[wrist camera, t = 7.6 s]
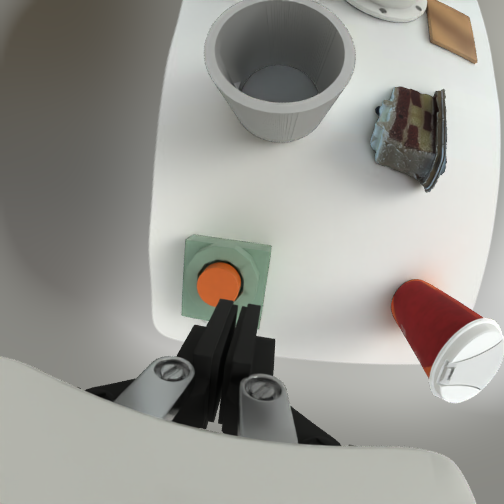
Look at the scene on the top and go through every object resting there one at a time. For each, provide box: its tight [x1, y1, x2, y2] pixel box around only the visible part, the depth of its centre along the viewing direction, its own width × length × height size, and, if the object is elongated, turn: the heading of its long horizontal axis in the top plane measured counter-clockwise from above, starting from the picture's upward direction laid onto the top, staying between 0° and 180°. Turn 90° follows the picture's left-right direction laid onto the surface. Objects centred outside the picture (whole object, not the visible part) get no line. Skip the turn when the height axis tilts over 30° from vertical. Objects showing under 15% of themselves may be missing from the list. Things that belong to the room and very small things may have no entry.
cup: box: [204, 0, 356, 143], centre depth 19 cm, size 9×9×12 cm
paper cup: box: [391, 279, 504, 403], centre depth 22 cm, size 8×8×14 cm
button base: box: [182, 235, 272, 329], centre depth 28 cm, size 8×8×4 cm
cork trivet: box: [426, 0, 477, 64], centre depth 20 cm, size 8×7×1 cm
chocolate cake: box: [370, 87, 447, 193], centre depth 23 cm, size 10×7×12 cm
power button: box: [197, 262, 241, 307], centre depth 25 cm, size 4×4×2 cm
